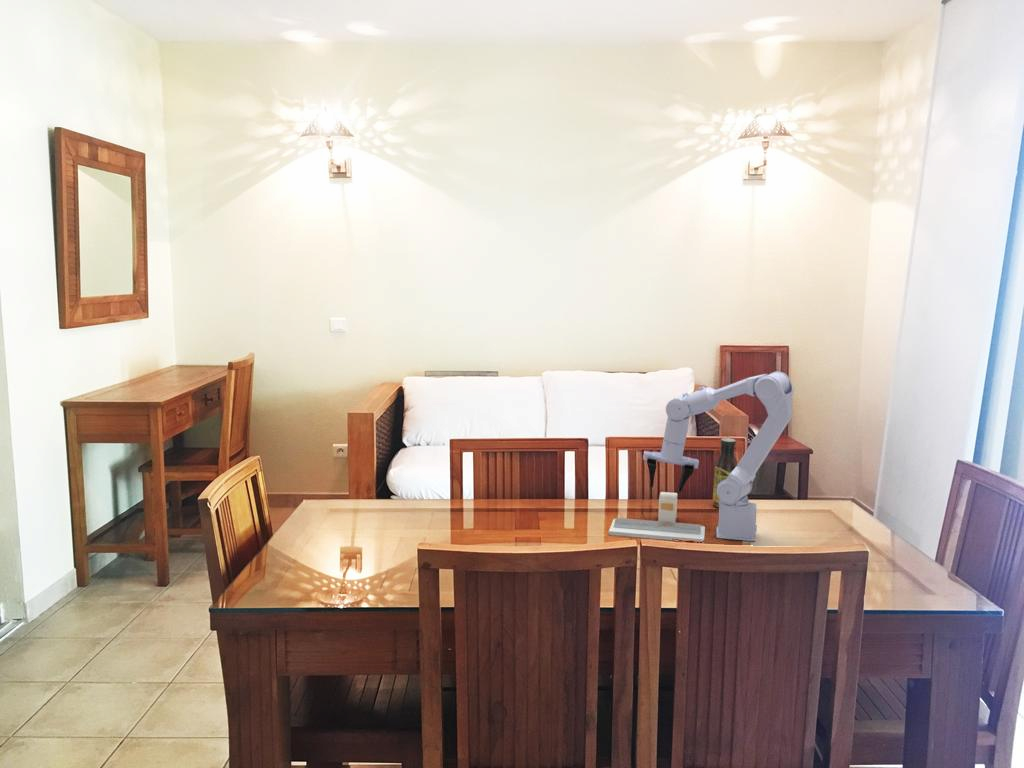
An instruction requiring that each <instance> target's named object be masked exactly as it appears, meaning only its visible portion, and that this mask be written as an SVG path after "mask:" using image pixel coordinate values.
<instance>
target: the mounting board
mask: <svg viewBox="0 0 1024 768" xmlns="http://www.w3.org/2000/svg"><path fill="white" fill-rule="evenodd" d="M615 519H616V518H614V519H613V520H612V523H611V525H610V528H609V530H608V536H616V537H617V536H618V537H630V538H631V537H632V538H641V539H652V540H662V541H665V540H666V541H676V542H680V541H679V540H695V541H704V542H702V543H700V542H699V543H700V544H705V531H706V527H705V526H704V525H701V533H700V535H699V534H687V533H675V532H663V531H651V530H639V529H628V528H616V527H614V522H615ZM672 539H679V540H672ZM699 543H698V544H699Z"/></svg>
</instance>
